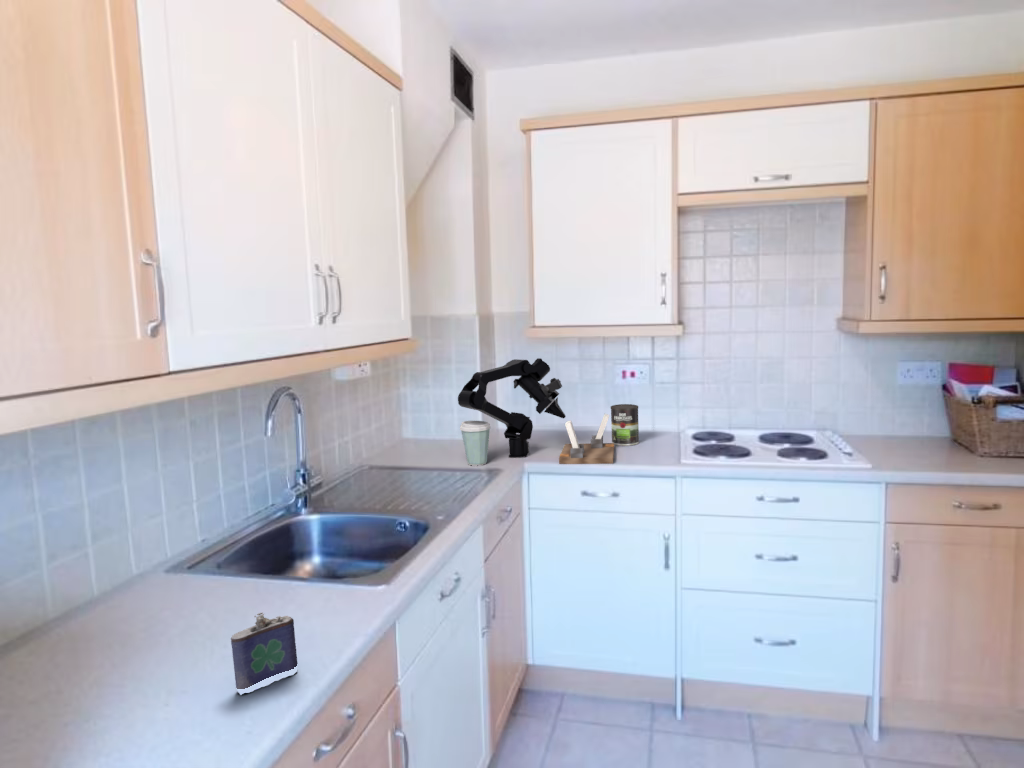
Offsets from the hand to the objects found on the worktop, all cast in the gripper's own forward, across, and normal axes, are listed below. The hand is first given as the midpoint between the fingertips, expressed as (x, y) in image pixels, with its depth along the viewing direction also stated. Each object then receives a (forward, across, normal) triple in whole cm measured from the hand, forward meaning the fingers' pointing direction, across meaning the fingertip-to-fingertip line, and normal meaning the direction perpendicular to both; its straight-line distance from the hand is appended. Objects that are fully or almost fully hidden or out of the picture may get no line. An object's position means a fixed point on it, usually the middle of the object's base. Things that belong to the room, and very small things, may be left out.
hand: (564, 417), depth 236 cm
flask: (-9, -149, +25) cm, 151 cm away
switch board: (+15, -6, +3) cm, 16 cm away
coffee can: (+24, +15, -5) cm, 28 cm away
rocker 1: (+12, -13, +3) cm, 18 cm away
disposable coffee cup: (-11, -18, +29) cm, 36 cm away
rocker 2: (+15, +1, 0) cm, 15 cm away
